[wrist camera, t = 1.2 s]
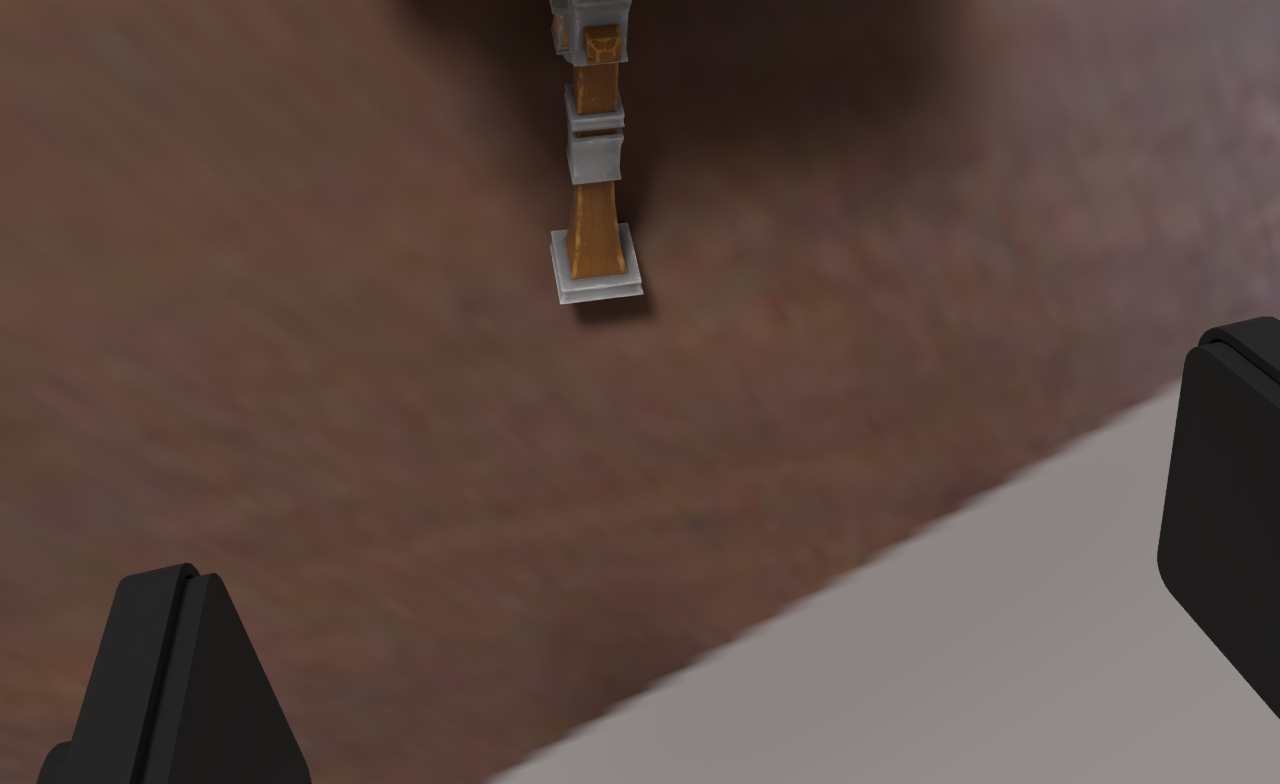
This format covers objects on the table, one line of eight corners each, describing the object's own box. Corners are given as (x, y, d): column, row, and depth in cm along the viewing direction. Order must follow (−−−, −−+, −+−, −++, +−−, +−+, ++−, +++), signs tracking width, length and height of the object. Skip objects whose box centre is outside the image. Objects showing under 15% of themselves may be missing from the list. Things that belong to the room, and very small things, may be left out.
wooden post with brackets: (615, -178, 20) (662, -20, 18) (611, 153, 27) (645, 301, 24) (513, -172, 20) (546, -11, 18) (534, 161, 27) (561, 311, 24)
